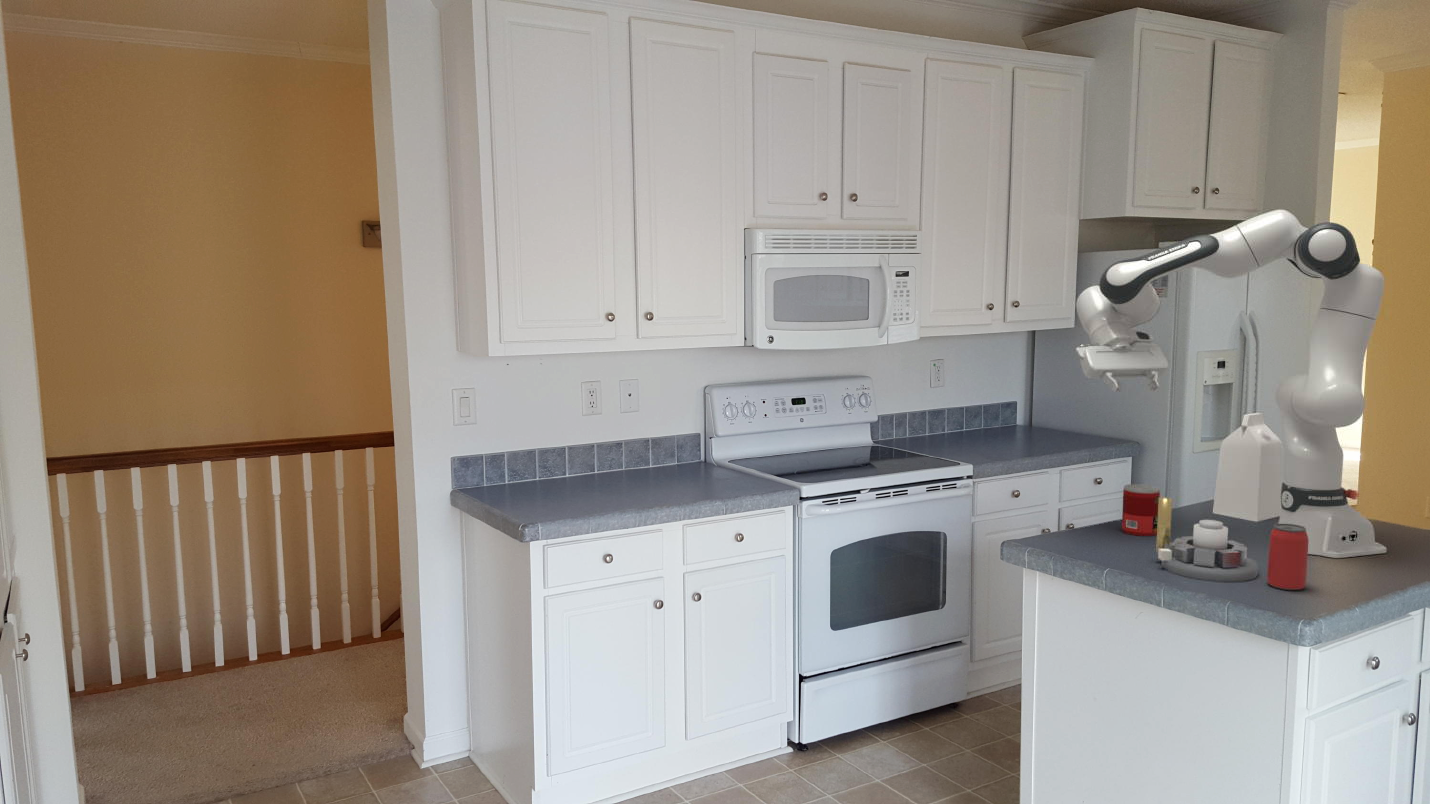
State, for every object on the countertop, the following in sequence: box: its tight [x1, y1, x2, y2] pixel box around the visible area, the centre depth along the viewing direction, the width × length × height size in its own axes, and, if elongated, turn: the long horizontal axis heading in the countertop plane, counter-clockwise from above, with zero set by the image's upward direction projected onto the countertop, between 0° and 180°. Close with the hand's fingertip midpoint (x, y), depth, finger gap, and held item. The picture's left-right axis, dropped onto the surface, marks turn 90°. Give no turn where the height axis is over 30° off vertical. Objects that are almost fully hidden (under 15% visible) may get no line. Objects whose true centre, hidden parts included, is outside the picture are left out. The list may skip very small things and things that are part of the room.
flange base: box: [1157, 519, 1259, 583], centre depth 209 cm, size 19×18×10 cm
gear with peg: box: [1155, 496, 1248, 568], centre depth 209 cm, size 17×13×12 cm
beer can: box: [1266, 523, 1309, 591], centre depth 196 cm, size 7×7×12 cm
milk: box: [1212, 412, 1284, 523], centre depth 256 cm, size 12×12×26 cm
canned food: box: [1121, 483, 1161, 537], centre depth 239 cm, size 8×8×11 cm
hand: (1136, 389), depth 229 cm, fingers open, 8 cm apart
